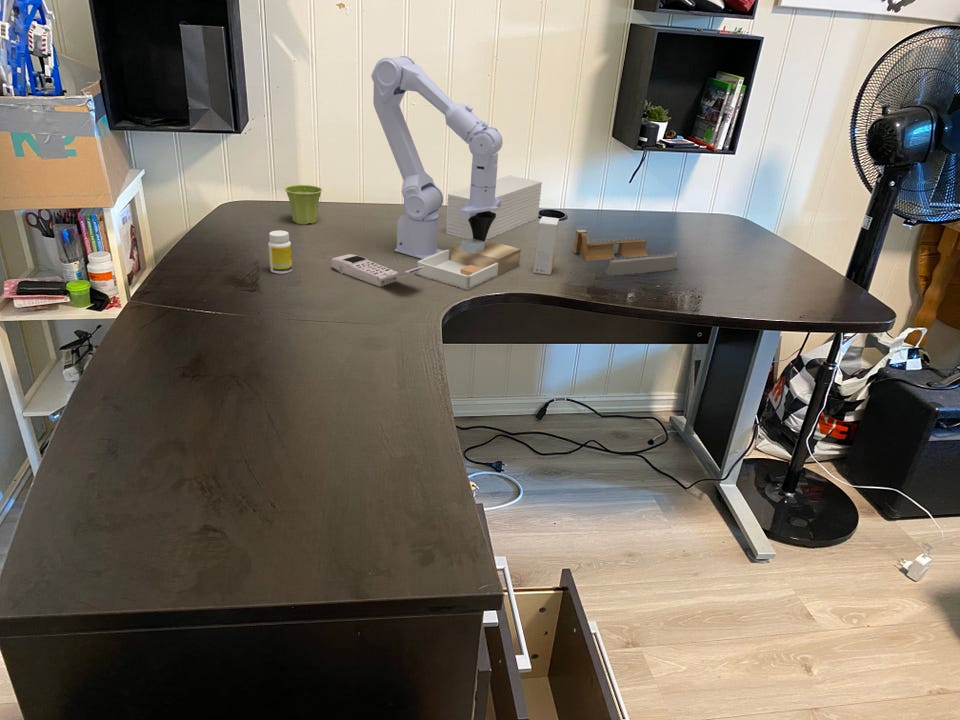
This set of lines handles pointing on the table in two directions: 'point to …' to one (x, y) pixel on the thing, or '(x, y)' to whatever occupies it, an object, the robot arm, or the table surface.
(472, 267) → the terracotta tile
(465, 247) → the blue tile
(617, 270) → the skate ramp
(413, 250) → the robot arm
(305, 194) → the plant pot
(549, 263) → the skincare box
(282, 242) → the supplement bottle
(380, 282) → the mobile phone
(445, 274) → the white tray
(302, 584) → the table surface
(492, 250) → the oak block
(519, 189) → the stack of papers
